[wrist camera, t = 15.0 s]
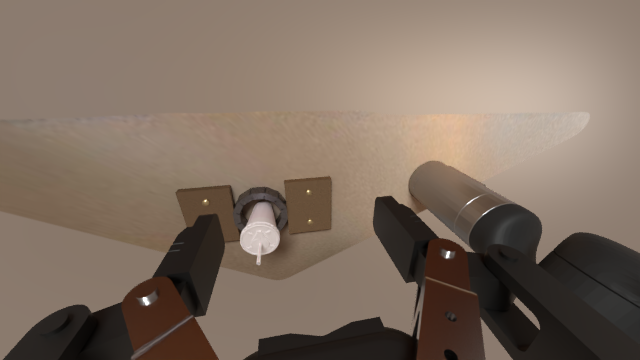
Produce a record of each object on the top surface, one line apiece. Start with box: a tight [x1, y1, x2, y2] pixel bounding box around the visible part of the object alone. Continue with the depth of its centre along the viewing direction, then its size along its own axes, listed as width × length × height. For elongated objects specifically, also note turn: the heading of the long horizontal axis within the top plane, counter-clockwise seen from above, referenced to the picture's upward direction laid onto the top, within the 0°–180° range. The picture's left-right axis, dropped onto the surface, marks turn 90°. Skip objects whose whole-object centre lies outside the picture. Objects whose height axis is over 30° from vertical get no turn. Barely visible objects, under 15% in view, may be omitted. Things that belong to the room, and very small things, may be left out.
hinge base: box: [176, 176, 331, 242], centre depth 44 cm, size 28×12×2 cm, turn 91°
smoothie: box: [240, 201, 280, 265], centre depth 39 cm, size 6×6×14 cm
